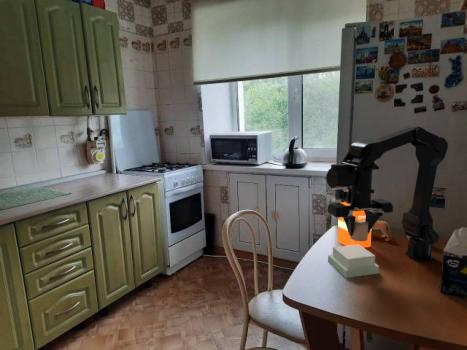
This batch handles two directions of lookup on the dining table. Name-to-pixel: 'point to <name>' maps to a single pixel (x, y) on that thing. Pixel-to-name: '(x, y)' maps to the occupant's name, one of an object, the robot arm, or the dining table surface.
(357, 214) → the orange juice
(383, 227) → the lion figurine
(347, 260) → the cream slab
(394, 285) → the dining table surface
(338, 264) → the sage slab
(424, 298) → the dining table surface
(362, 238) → the pale pink cylinder
